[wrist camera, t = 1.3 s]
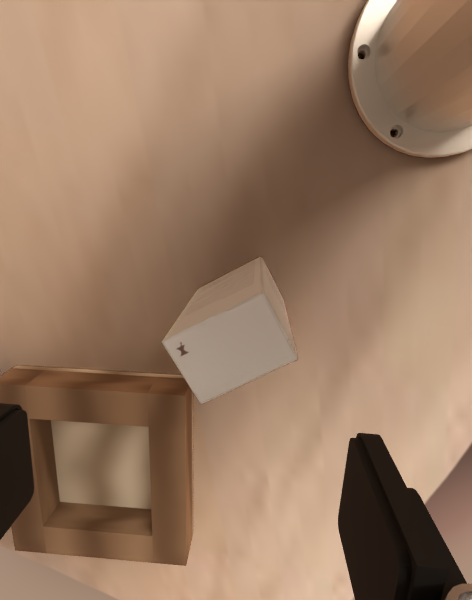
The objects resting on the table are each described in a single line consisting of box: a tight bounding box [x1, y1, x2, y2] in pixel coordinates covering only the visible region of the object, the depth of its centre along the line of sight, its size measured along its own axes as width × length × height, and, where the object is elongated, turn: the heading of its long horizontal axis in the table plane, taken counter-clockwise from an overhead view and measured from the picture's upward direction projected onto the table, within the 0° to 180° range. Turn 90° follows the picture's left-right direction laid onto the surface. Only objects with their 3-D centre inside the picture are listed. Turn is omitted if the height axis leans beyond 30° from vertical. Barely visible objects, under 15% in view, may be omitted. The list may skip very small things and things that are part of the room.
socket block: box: [0, 365, 193, 566], centre depth 34 cm, size 16×17×4 cm
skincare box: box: [162, 257, 298, 404], centre depth 25 cm, size 6×4×12 cm
